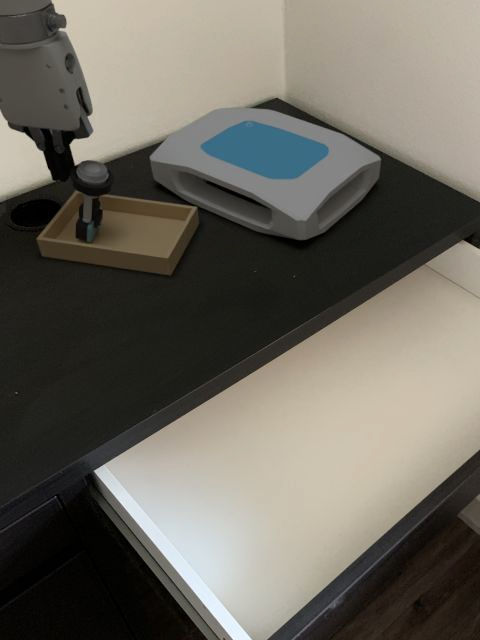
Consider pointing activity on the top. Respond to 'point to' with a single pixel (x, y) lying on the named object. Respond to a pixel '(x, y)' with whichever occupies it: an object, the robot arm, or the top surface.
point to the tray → (123, 234)
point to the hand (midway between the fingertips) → (64, 175)
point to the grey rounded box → (267, 170)
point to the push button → (90, 196)
